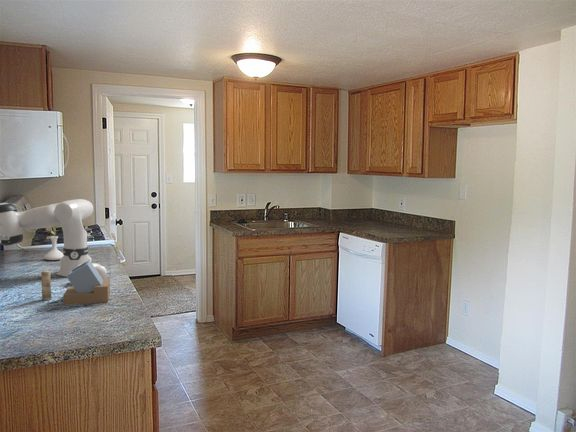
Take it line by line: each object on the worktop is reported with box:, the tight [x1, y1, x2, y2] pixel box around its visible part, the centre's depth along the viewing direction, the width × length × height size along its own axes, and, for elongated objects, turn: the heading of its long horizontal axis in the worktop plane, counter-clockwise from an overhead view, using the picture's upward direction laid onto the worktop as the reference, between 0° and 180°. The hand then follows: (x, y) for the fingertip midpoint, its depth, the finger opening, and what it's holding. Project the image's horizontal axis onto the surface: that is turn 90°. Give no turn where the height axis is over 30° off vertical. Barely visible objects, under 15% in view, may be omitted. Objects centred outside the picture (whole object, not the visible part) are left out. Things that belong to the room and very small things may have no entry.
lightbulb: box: [95, 264, 108, 279], centre depth 218 cm, size 6×6×11 cm
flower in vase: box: [43, 226, 64, 261], centre depth 278 cm, size 13×11×25 cm
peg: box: [40, 270, 52, 302], centre depth 199 cm, size 3×3×12 cm
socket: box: [62, 260, 111, 306], centre depth 201 cm, size 14×17×16 cm
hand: (4, 239), depth 194 cm, fingers open, 8 cm apart
